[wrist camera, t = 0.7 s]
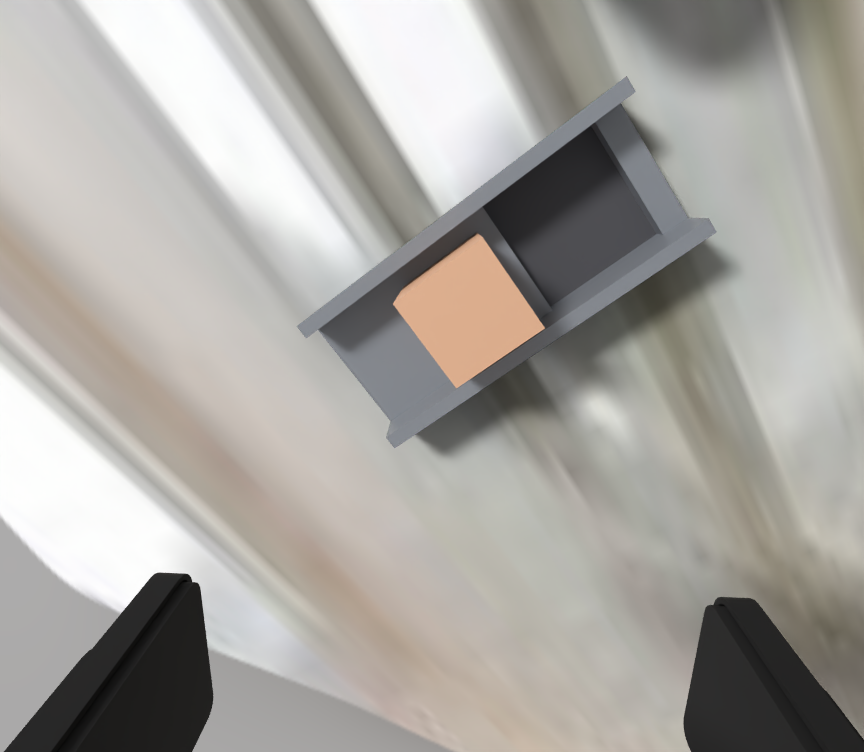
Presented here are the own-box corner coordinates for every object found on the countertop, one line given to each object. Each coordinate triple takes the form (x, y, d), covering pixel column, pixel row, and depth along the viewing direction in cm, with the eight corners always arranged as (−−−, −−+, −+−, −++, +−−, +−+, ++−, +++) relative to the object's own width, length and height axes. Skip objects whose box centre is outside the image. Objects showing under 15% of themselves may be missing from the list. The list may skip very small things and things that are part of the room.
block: (476, 232, 30) (482, 237, 24) (527, 306, 31) (545, 328, 26) (403, 286, 31) (392, 303, 25) (455, 356, 32) (456, 388, 27)
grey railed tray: (605, 92, 29) (626, 76, 26) (686, 229, 31) (716, 232, 27) (313, 313, 33) (296, 326, 30) (400, 423, 35) (394, 448, 31)
